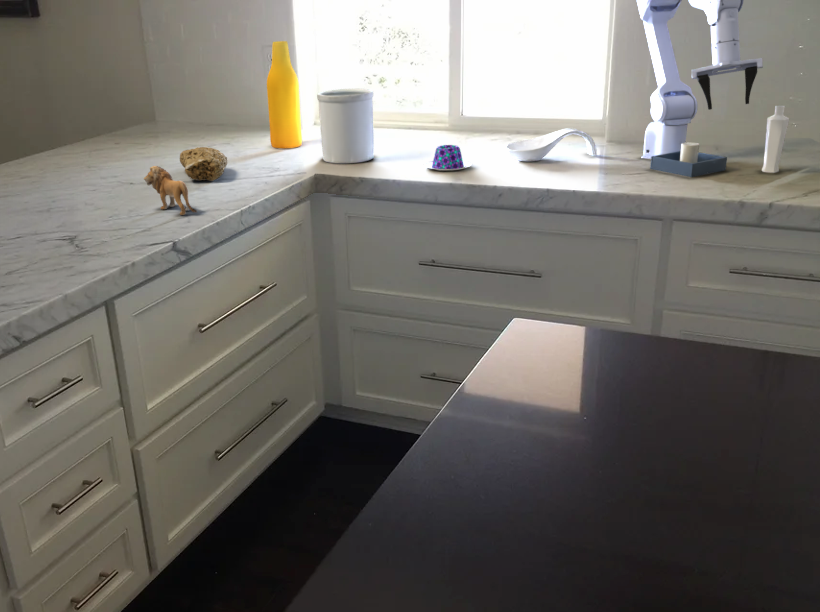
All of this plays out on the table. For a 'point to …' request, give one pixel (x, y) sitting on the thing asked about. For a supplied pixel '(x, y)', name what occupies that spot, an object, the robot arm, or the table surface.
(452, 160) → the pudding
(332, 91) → the utensil holder
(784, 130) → the perfume bottle
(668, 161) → the bin
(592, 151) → the spoon rest
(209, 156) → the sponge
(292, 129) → the beer bottle
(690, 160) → the cream cylinder
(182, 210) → the lion figurine
